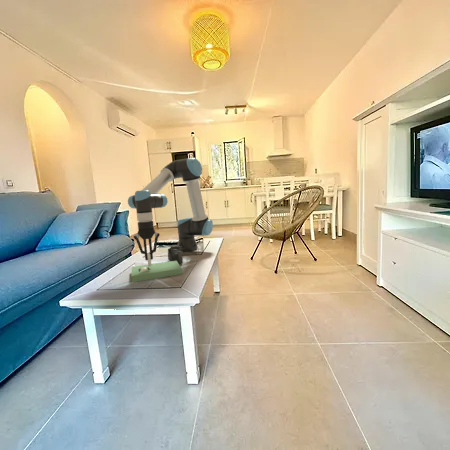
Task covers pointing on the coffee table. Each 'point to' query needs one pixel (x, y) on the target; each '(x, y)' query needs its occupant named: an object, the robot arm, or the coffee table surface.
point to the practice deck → (156, 271)
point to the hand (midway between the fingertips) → (149, 265)
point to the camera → (175, 254)
